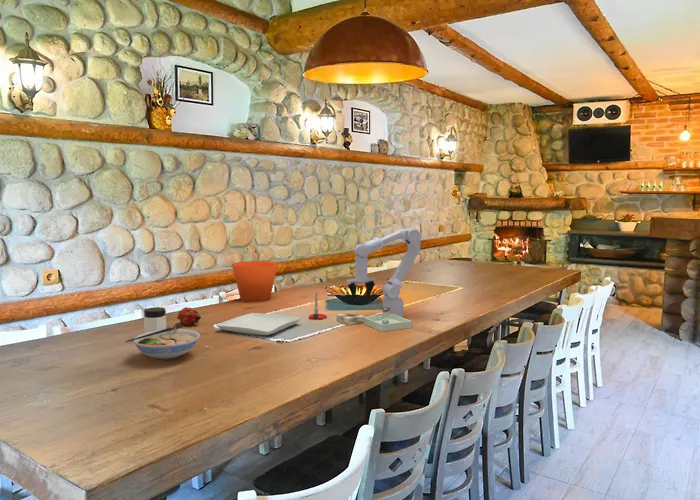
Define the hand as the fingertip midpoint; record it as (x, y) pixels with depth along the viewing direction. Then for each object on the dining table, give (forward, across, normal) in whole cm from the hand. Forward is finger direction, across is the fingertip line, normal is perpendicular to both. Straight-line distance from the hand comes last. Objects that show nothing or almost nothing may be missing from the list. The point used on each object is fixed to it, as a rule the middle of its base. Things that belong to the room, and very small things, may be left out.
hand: (361, 298), depth 257 cm
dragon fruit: (+10, +75, -23) cm, 79 cm away
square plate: (+10, +49, -3) cm, 50 cm away
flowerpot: (+10, +30, -65) cm, 73 cm away
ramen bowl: (+10, +92, +22) cm, 95 cm away
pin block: (+9, +8, +5) cm, 13 cm away
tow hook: (+10, +18, -10) cm, 23 cm away
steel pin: (+8, -2, +18) cm, 20 cm away
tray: (+9, -3, +19) cm, 21 cm away
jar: (+10, +92, -6) cm, 93 cm away
